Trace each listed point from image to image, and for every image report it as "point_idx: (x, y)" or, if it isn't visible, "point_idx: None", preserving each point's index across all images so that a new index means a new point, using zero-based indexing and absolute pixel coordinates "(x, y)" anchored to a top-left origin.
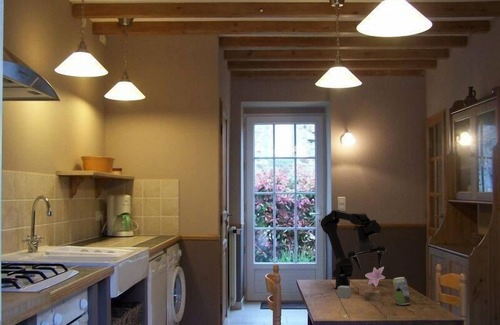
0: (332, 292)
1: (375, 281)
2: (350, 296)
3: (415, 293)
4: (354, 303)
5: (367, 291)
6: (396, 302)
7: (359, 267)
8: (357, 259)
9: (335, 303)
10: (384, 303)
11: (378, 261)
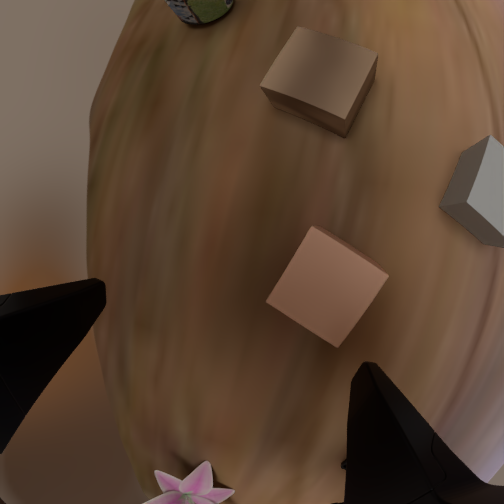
0: (484, 362)
1: (200, 483)
2: (445, 195)
3: (91, 274)
4: (422, 23)
5: (354, 66)
6: (232, 1)
7: (394, 390)
8: (453, 500)
9: (494, 46)
10: (280, 15)
11: (40, 303)
